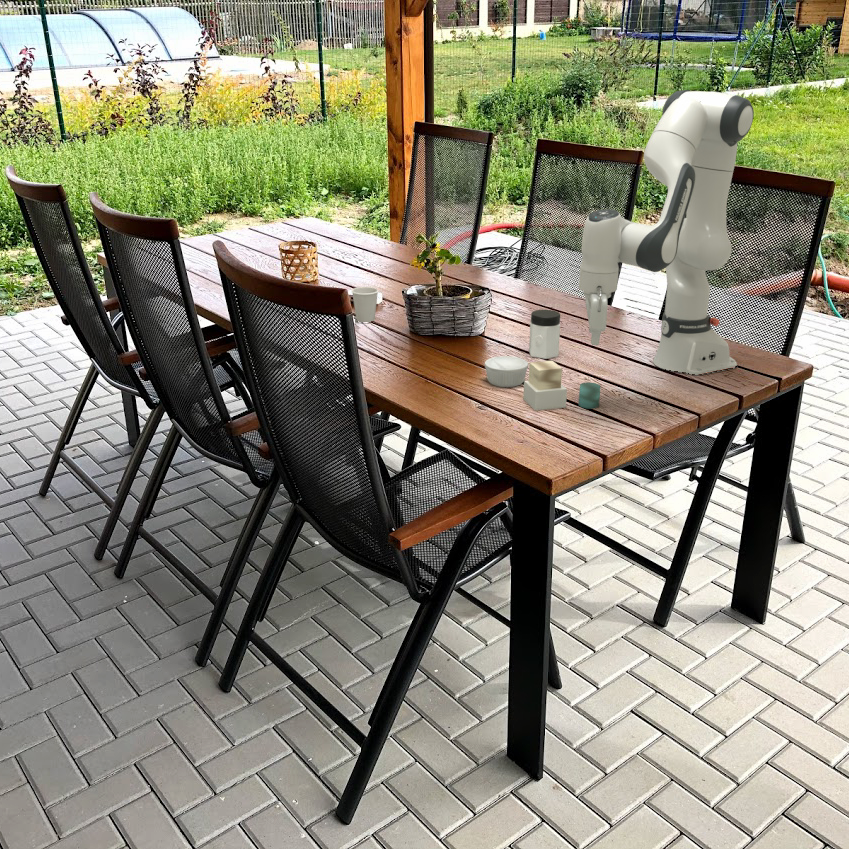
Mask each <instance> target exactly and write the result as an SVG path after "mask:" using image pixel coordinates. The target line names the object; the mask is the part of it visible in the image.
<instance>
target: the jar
mask: <svg viewBox="0 0 849 849" xmlns="http://www.w3.org/2000/svg"><path fill="white" fill-rule="evenodd" d="M560 337H561V313H560V312H559V311H556V310H552V309H536V310H533V311H531V314H530V323H529V340H528V341H529V343H528V345H529V346H528V352H529V355H530V357H531V358H537V359H542V360H547V359H553V358H558V357H559V352H560V351H559V349H560Z"/></svg>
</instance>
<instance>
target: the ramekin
mask: <svg viewBox="0 0 849 849" xmlns="http://www.w3.org/2000/svg"><path fill="white" fill-rule="evenodd" d="M484 368H485V372H486V378H487V381H488V382H489V384H491V385H493V386H496V387H499V388H501V387H502V388H512V387H518V386H520V385H522V384H524V381H526V375H527V371H528V369H529V362H528V361H527V360H526V359H524V358H521V357H518V356H511V355H509V356H507V355H500V356H493V357H490V358H488V359H487V360H485V361H484Z"/></svg>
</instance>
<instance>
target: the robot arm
mask: <svg viewBox="0 0 849 849" xmlns="http://www.w3.org/2000/svg"><path fill="white" fill-rule="evenodd" d="M754 113H755V112H754V107H753V104H752V103H751V101H750V100H749V99H748V98H746V97H744V96H740V95H736V94H735V95H731V94H728V93H724V92H719V91H712V90H711V91H704V90H703V91H702V90H701V91H699V90H693V91H691V90H690V89H683V90H677V91H674V92H673V93H672V94H671V95H669V97H667V99H666V100H665V103H664V104H663V107H662V112H661V117H660V119H659V121H658V123H657V124H656V125H655V127H654V130H653V131H652V133H651V135H650V137H649V139H648V141H647V144H646V146H645V148H644V154H643V161H644V165H645V167H646V169H647V171H648V172H649V173H650V174H651V175H652V177H654V178H655V179H656V180H657V181H658V182H660V183H661V184H662V185H664V186H666V187H667V193H666V194H667V195H666V198H665V201H664V204H663V206H662V211H661V213H660V217H659V220H658V222H657V223H655V224H652V225H649V224H644V223H638V222H634V221H631V220H628V219H625V218H624V217H622V216H621V213H620V212H619V211H617V210H615V209H612V208H611V209H609V208H607V209H605V208H604V209H598V210H594V211H592V212H590V213H589V214H588V215H587V216H586V220H585V221H584V222H585V223H584V225H583V226H584V227H583V232H582V240H581V255H582V260H581V263H580V267H579V276H578V277H579V279H578V289H579V290H581V291H582V292H583V296H584V297H585V299H584V301H585V309H586V314H587V319H588V320H587V321H588V331H589V333H590V334H591V336H590V343H591V344H590V345H591V346H599V344H600V338H601V334H602V332H605V331H606V328H607V318H608V299H609V298H612V293H614V292H617V290H618V284H619V283H618V281H619V272H620V268H619V263H623V264H625V265H629V266H633V267H634V266H635V267H638V268H641V269H643V270H646V271H649V272H653V273H659V272H661V271H663V270H664V269H665V272H666V295H665V296H666V298H665V307H664V312H663V314H662V319H661V326H660V327H661V335H660V340H659V344H658V348H657V350H656V354H655V356H654V359H653V362H652V363H653V365H655V366H657V367H658V368H660V369H662V370H665V369H666V371H669V370H671V371H670V372H674V371H678V372H677V373H682V372H686V373H685V374H688V373H689V374H688V375H692V374H695V375H694V376H699V375H698V374H702V373H706V372H711V371H716V370H721V369H726V368H731V367H735V366H737V367H738V364H737V361H736V360H735V359H734V358H733V357H731V356H730V347H729V344H728V342H727V341H726V340H725V339H724V338H723V337H722V336H720V335H719V334H718V333H717V332H715V330H713V329H712V326H714V327H718V326H719V325H720V319H719V318H716V317H711V316H710V315H708V309H709V301H710V293H711V287H710V286H711V285H710V283H709V281H708V278H707V274H706V271H716V270H718V269H720V268H722V267H724V266H725V265H726V264H727V262H728V261H729V260H730V258H731V255H732V248H733V247H732V243H731V240H730V238H729V236H728V230H727V229H728V228H727V205H728V204H727V203H728V197H729V192H730V189H731V184H732V180H733V179H732V178H733V175H734V174H733V173H734V172H735V170H734V169H735V166H736V159H737V154H738V151H737V150H738V142H740V141H741V140H743V139H744V138H745V137H746V136H747V134H748V133H749V132H750V130H751V128H752V125H753V120H754V116H755V114H754ZM702 375H703V374H702Z"/></svg>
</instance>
